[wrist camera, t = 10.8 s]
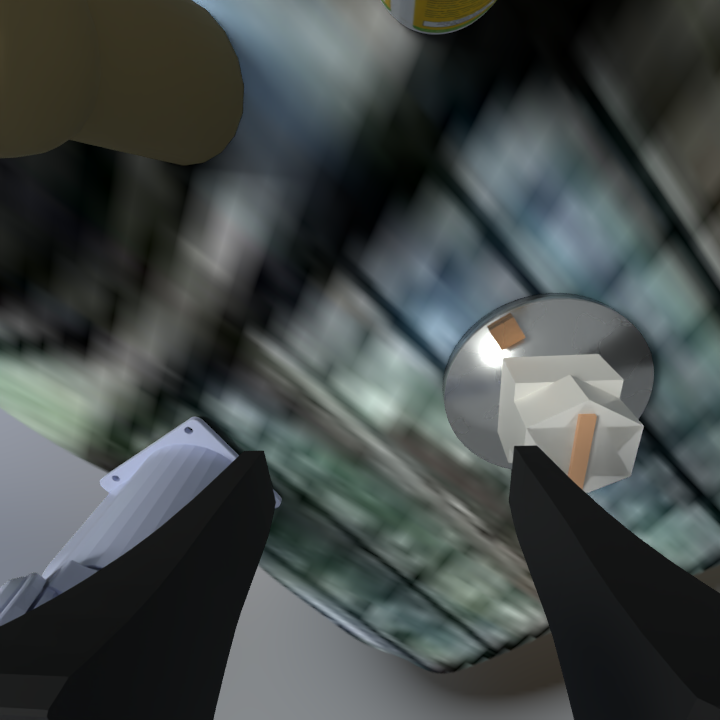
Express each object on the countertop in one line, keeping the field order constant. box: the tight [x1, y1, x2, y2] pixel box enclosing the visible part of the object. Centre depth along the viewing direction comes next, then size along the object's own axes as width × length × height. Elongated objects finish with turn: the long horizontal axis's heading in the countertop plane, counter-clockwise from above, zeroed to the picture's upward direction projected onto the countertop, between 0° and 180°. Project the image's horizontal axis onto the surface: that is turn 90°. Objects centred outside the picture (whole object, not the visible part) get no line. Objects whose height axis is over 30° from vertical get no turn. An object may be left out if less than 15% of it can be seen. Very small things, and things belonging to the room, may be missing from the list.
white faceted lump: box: [497, 354, 644, 493], centre depth 19 cm, size 5×4×5 cm
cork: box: [0, 0, 244, 165], centre depth 12 cm, size 6×6×11 cm
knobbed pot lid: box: [443, 293, 654, 469], centre depth 20 cm, size 10×10×3 cm
